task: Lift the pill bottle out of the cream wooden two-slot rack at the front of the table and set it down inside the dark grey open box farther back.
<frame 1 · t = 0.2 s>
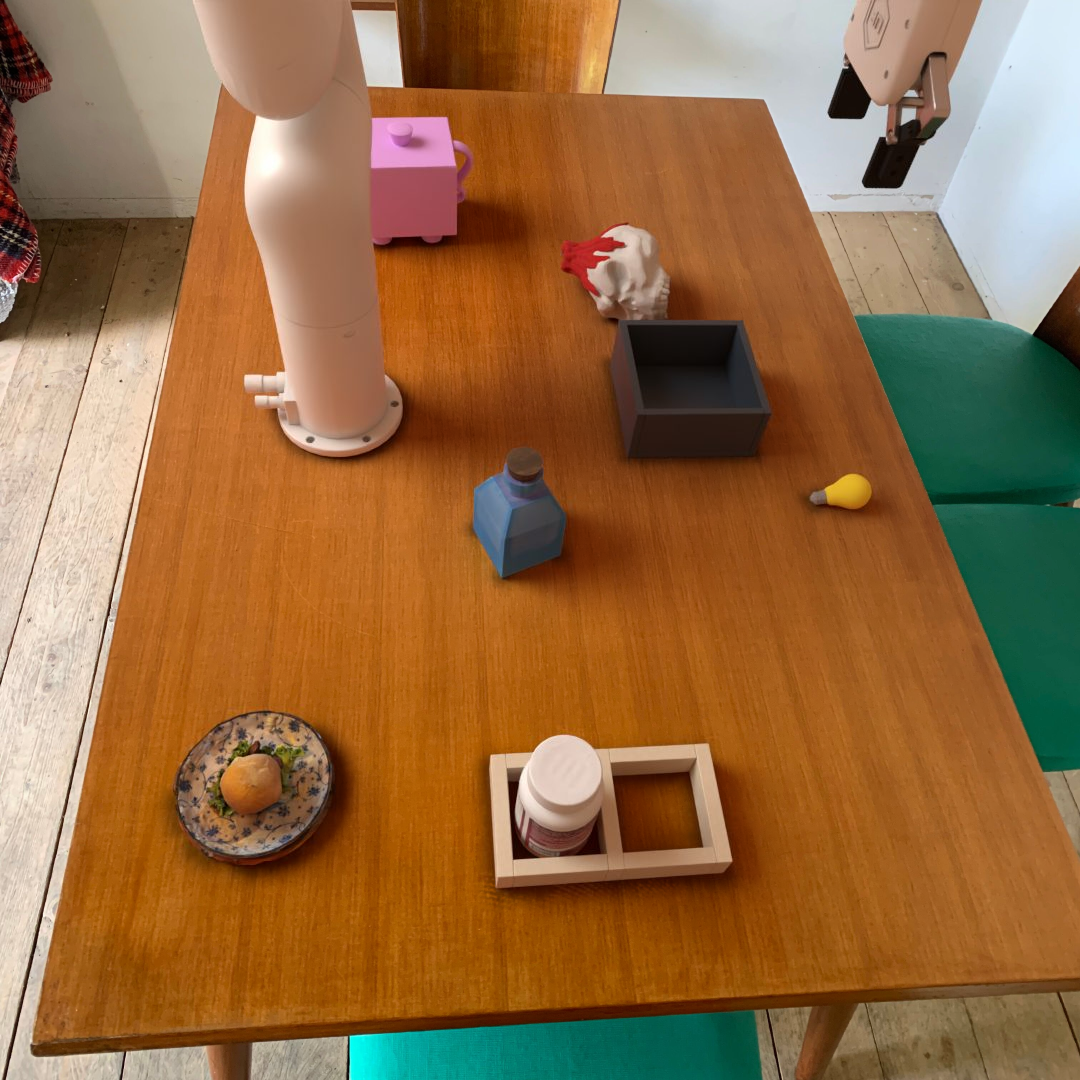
hand: (862, 150, 75), 31 cm above the table, tool pointing down, fingers open, 9 cm apart
perfume bottle: (516, 543, 88), on the table
candle: (612, 299, 109), on the table
burger: (257, 790, 72), on the table
light bulb: (835, 503, 94), on the table
pill bottle: (552, 823, 72), resting in rack
rack: (603, 819, 73), on the table
teapot: (392, 223, 114), on the table
dark grey open box: (679, 409, 99), on the table
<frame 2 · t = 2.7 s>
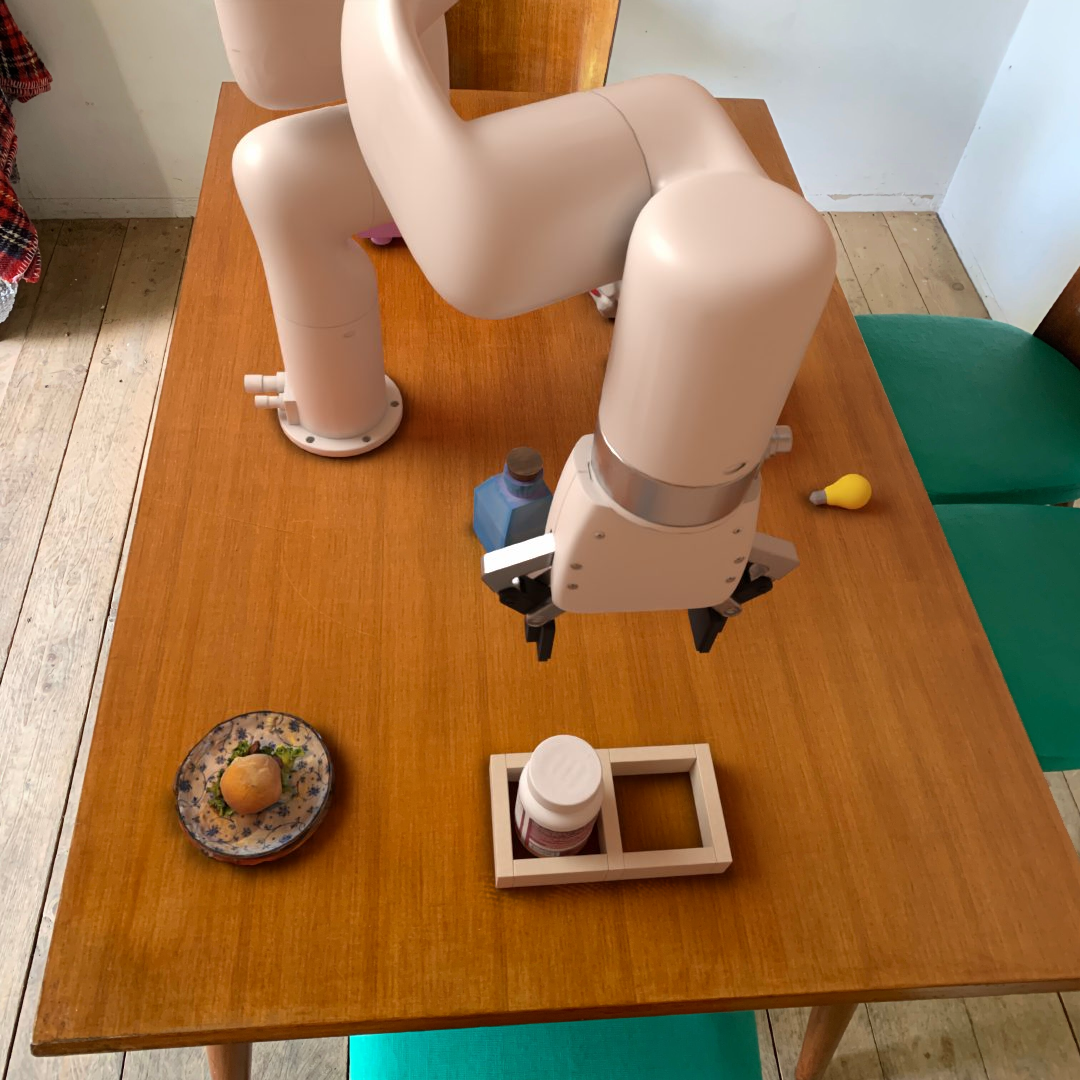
hand: (620, 636, 56), 23 cm above the table, tool pointing down, fingers open, 9 cm apart
nothing on the table moved.
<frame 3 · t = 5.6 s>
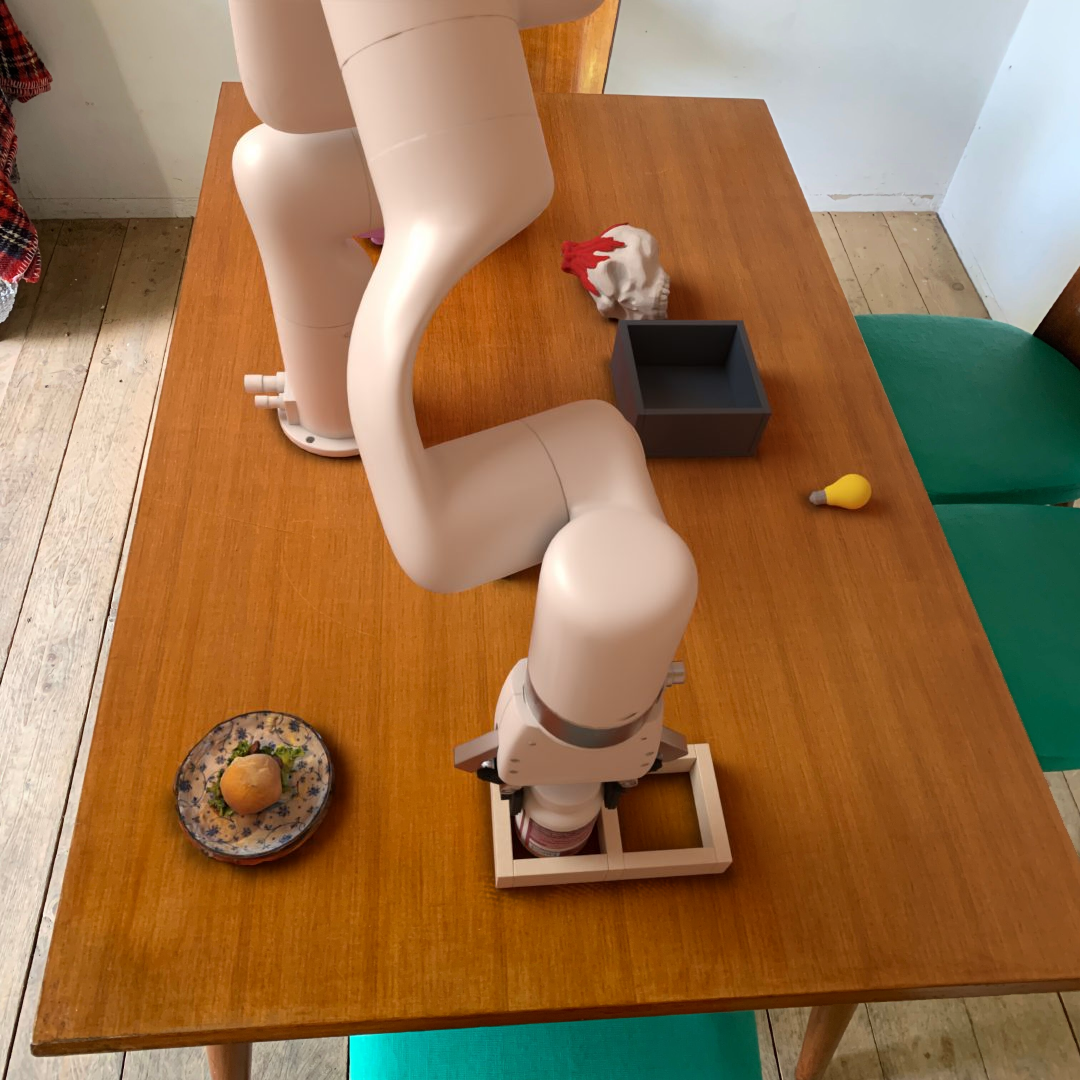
hand: (560, 791, 66), 7 cm above the table, tool pointing down, fingers closed on pill bottle, 6 cm apart
pill bottle: (551, 823, 72), resting in rack, touching gripper
everything else where it was.
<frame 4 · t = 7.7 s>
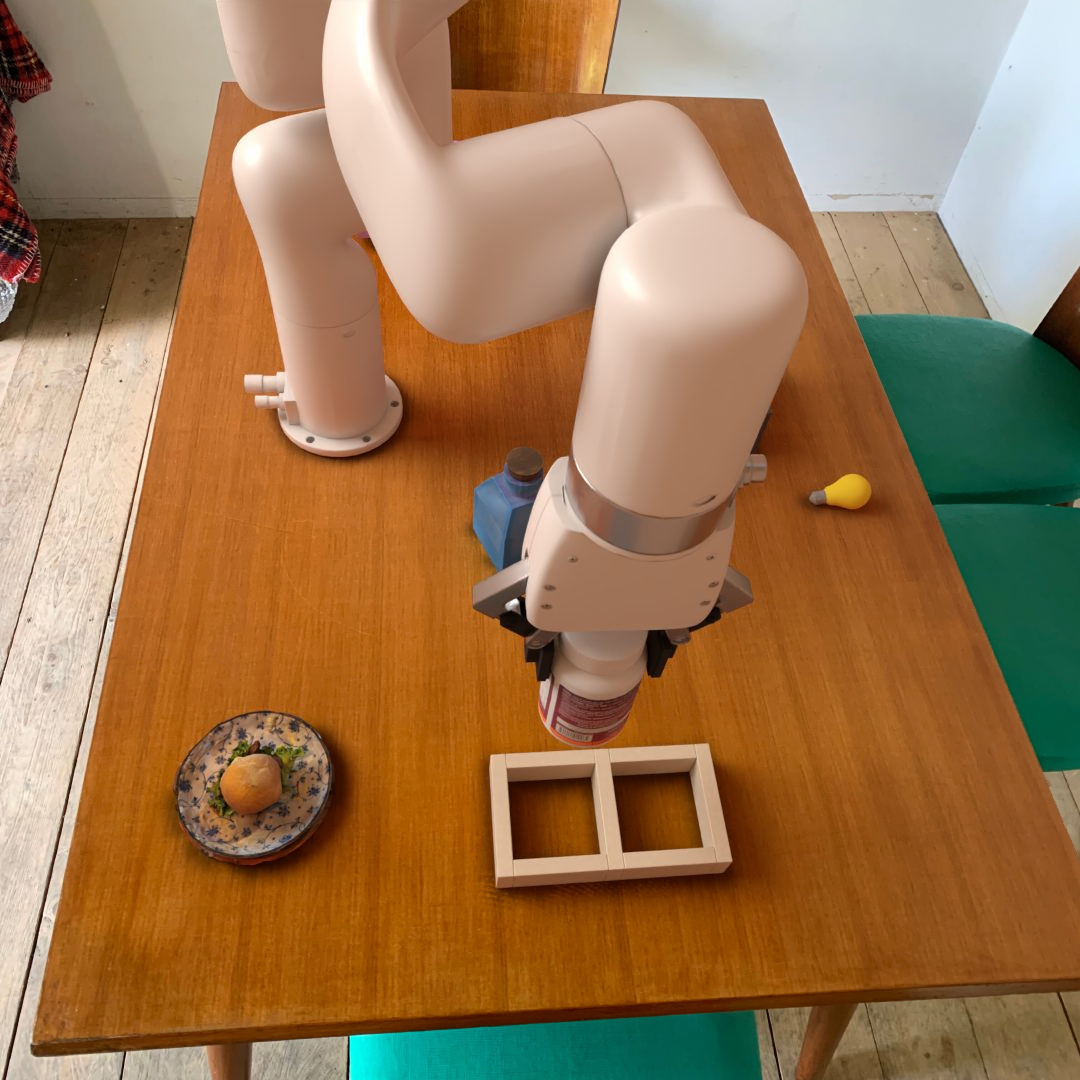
hand: (595, 656, 56), 22 cm above the table, tool pointing down, fingers closed on pill bottle, 6 cm apart
pill bottle: (581, 709, 62), point 15 cm above the table, touching gripper
everything else where it was.
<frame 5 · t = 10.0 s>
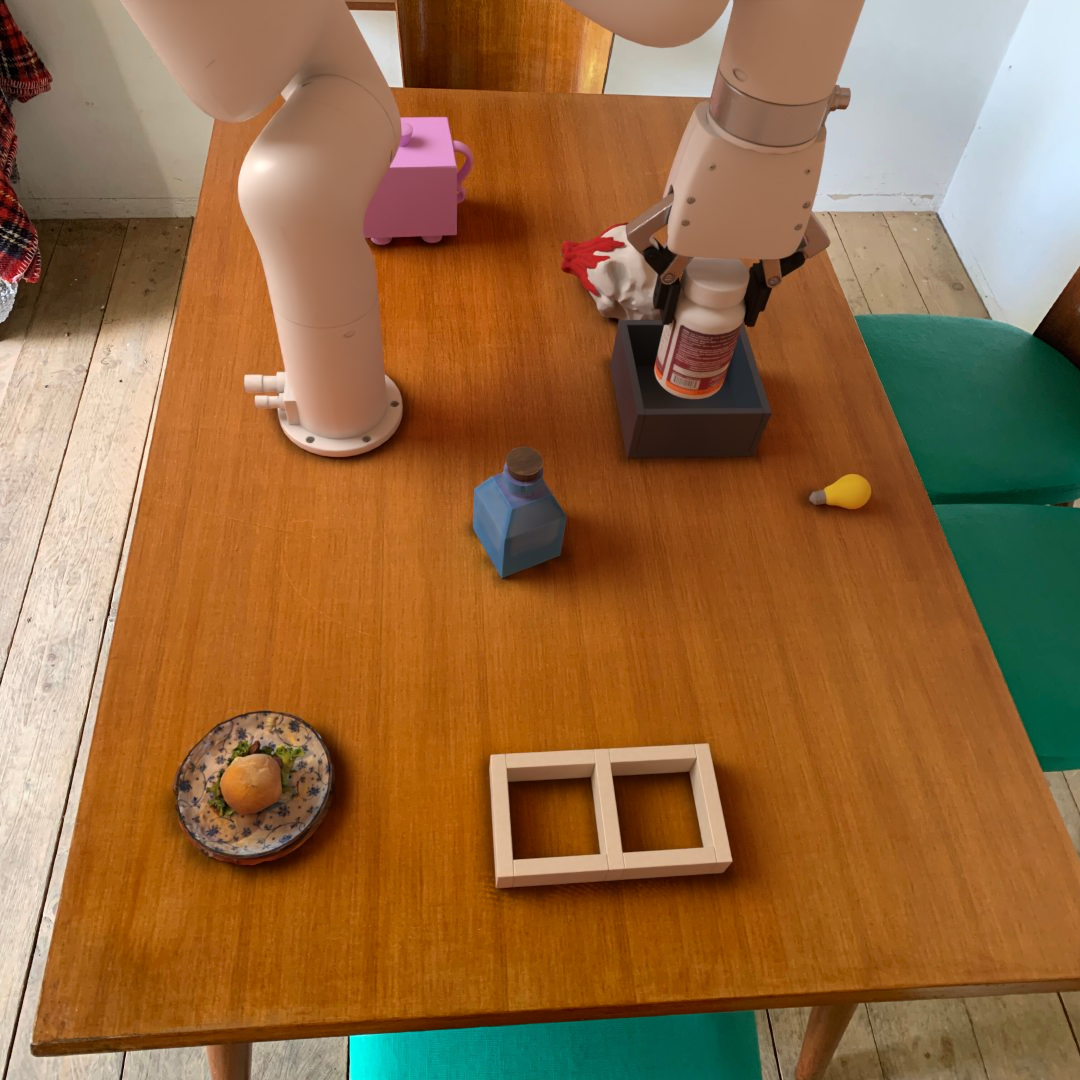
hand: (705, 312, 75), 22 cm above the table, tool pointing down, fingers closed on pill bottle, 6 cm apart
pill bottle: (687, 379, 80), point 15 cm above the table, touching gripper
everything else where it was.
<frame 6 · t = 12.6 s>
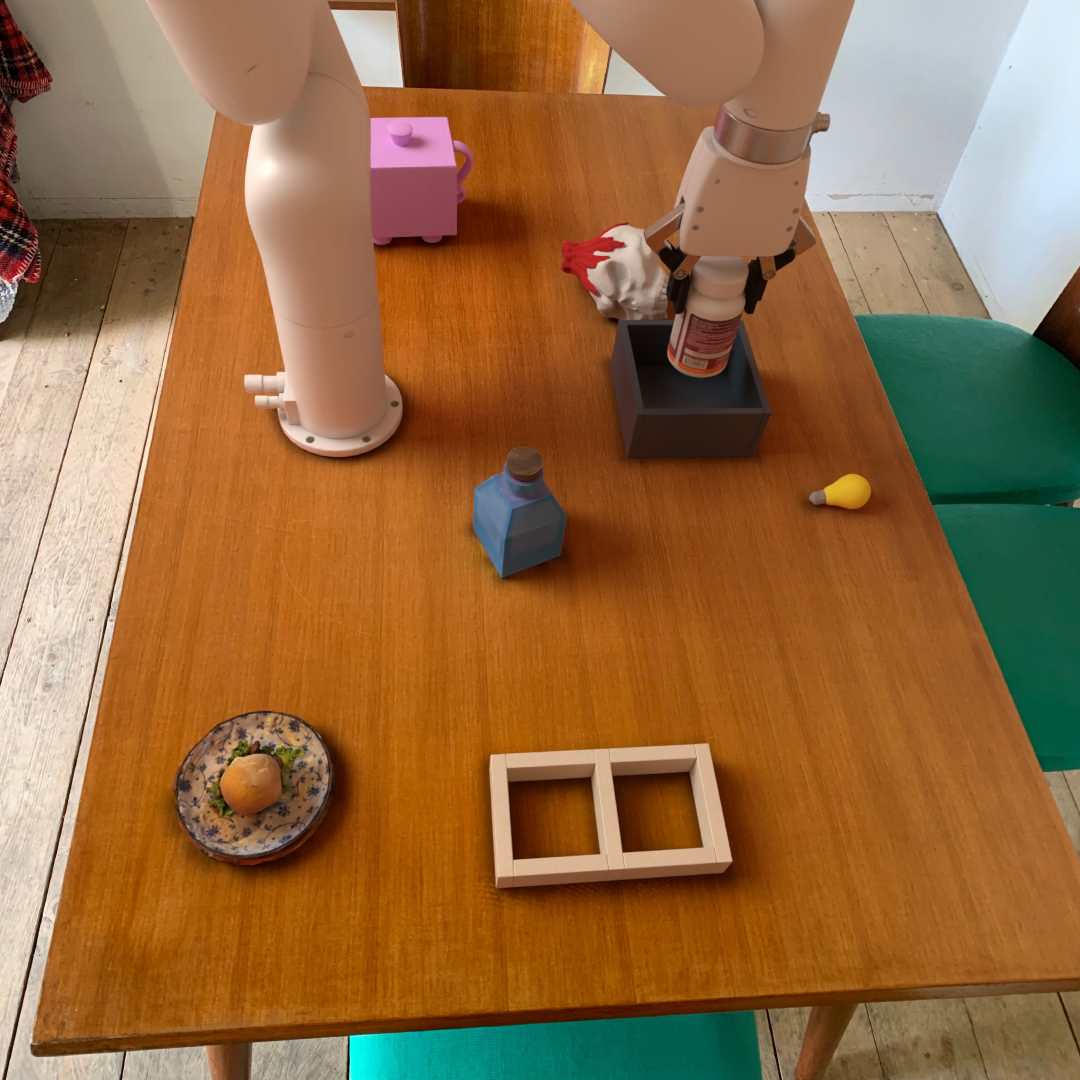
hand: (711, 303, 87), 15 cm above the table, tool pointing down, fingers closed on pill bottle, 6 cm apart
pill bottle: (695, 360, 93), point 7 cm above the table, touching gripper
everything else where it was.
when the fingers open (8 cm above the table, at t = 14.7 s): pill bottle stays where it is, resting on dark grey open box.
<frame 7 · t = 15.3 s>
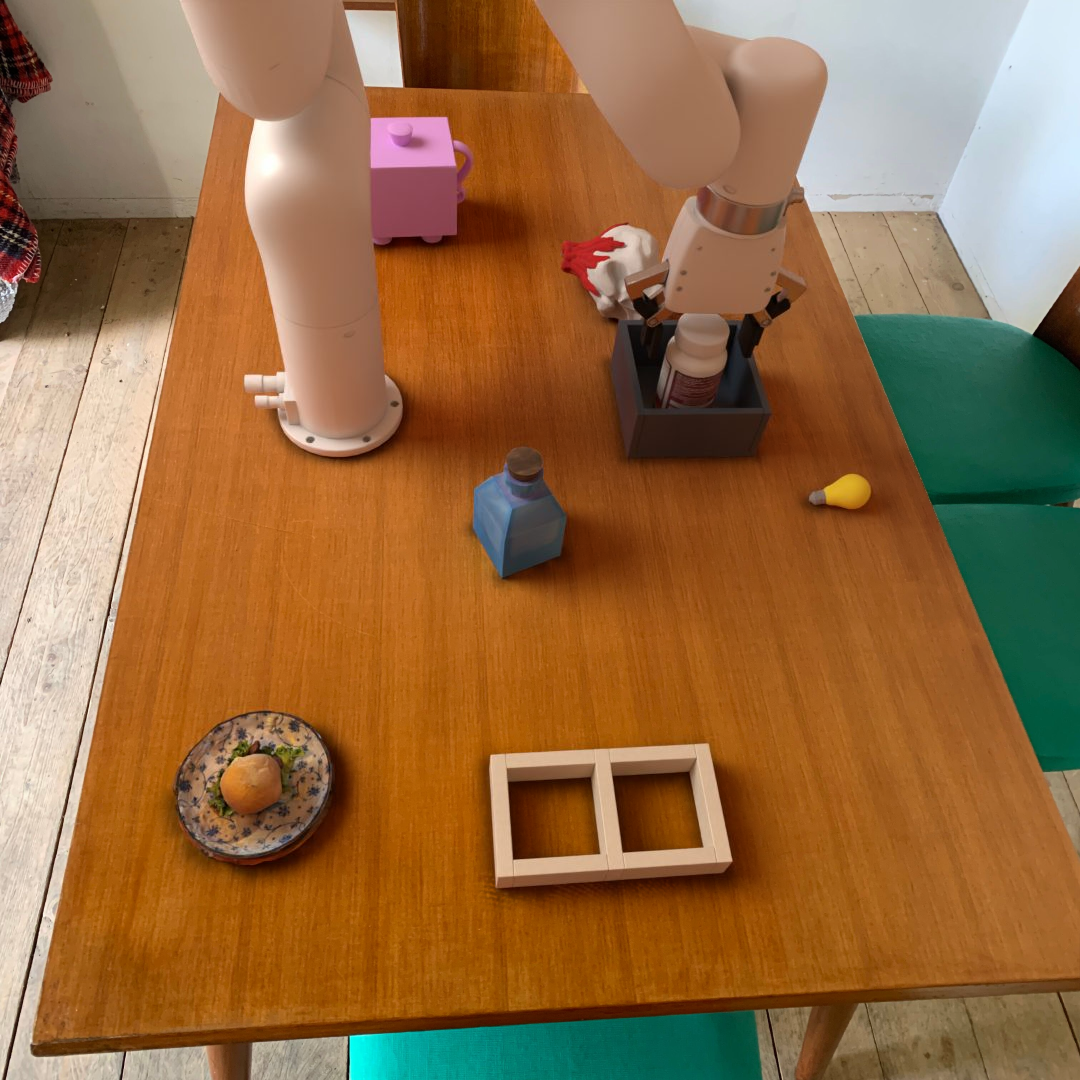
hand: (697, 348, 92), 9 cm above the table, tool pointing down, fingers open, 9 cm apart
pill bottle: (680, 408, 99), resting on dark grey open box
everything else where it was.
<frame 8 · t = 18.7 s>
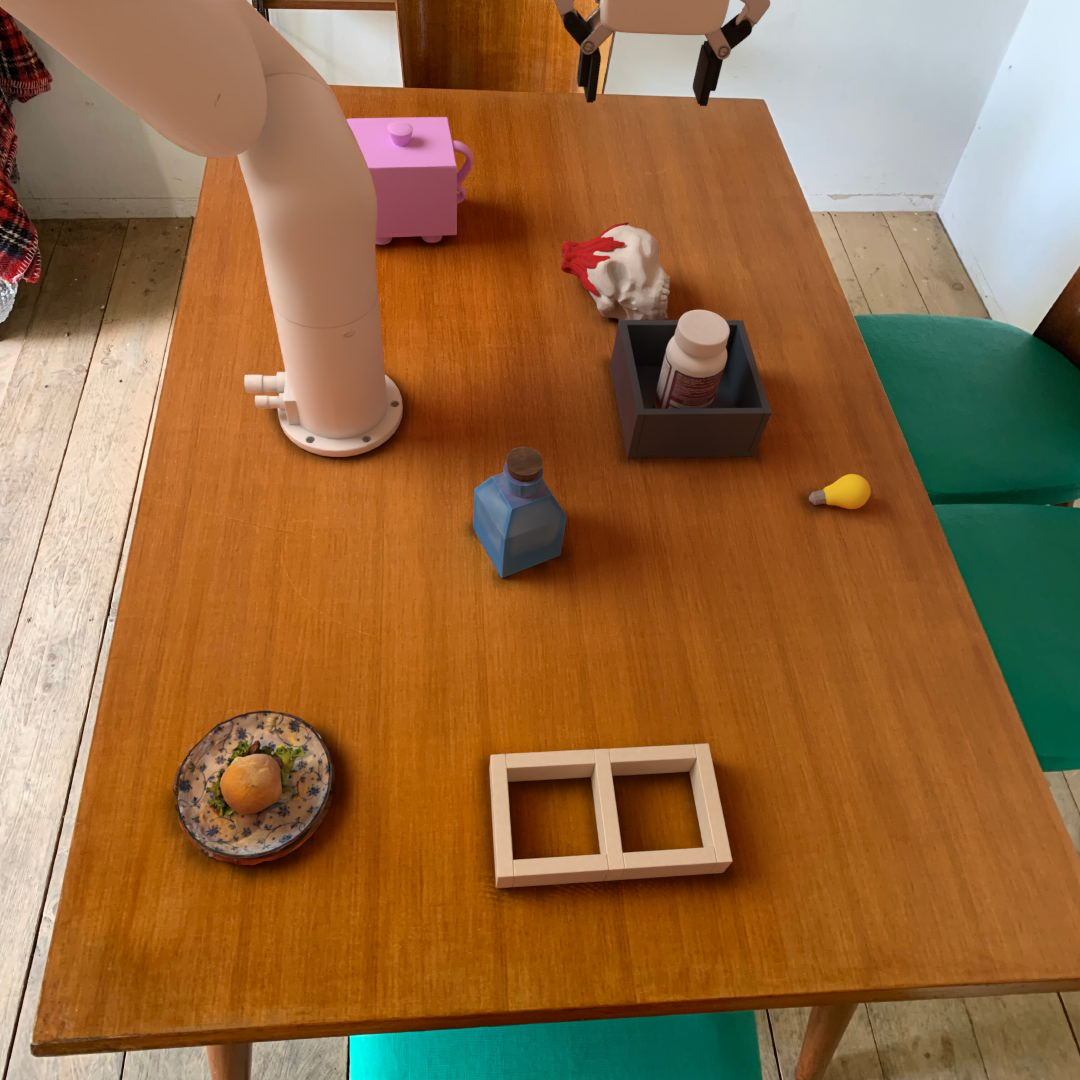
hand: (644, 95, 78), 30 cm above the table, tool pointing down, fingers open, 9 cm apart
nothing on the table moved.
at the end: pill bottle inside the target area in the dark grey open box (0.3 cm from its centre), point 0.4 cm above the dark grey open box's base; the gripper is holding nothing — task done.
